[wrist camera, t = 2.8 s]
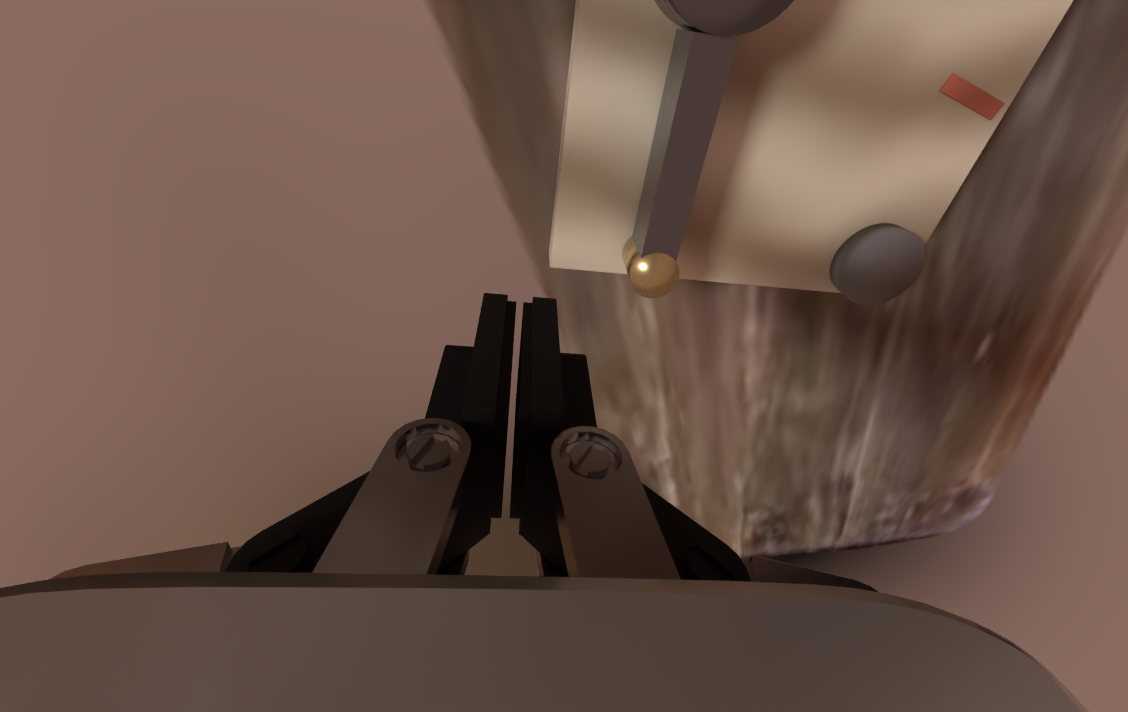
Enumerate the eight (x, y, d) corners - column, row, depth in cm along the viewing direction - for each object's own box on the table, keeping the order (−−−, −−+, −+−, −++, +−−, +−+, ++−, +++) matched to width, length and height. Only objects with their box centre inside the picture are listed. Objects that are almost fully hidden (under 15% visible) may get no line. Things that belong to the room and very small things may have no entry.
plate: (617, -386, 14) (636, -478, 11) (1172, -252, 16) (1300, -303, 13) (549, 250, 26) (550, 279, 23) (872, 280, 28) (908, 310, 25)
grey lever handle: (663, -172, 15) (687, -206, 12) (811, -143, 15) (862, -170, 13) (590, 266, 24) (596, 295, 21) (686, 274, 24) (702, 304, 22)
